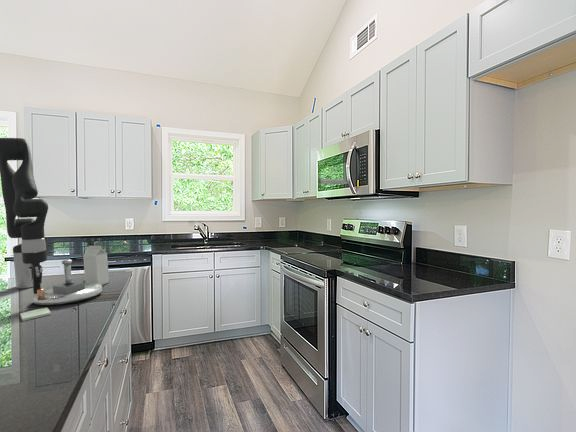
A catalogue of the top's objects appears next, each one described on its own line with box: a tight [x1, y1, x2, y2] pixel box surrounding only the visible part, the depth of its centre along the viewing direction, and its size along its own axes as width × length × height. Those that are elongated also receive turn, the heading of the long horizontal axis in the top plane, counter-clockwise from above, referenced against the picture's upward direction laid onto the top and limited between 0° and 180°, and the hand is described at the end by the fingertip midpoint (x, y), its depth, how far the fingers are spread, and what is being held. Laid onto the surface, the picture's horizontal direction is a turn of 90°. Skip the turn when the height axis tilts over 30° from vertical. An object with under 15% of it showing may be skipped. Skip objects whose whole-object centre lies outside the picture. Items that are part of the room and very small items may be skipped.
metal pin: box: [61, 258, 73, 286], centre depth 135 cm, size 4×4×13 cm
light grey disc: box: [32, 280, 103, 306], centre depth 135 cm, size 24×24×6 cm
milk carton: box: [82, 245, 110, 286], centre depth 155 cm, size 7×7×19 cm
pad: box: [19, 307, 52, 322], centre depth 116 cm, size 8×8×1 cm
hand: (37, 293), depth 126 cm, fingers closed
